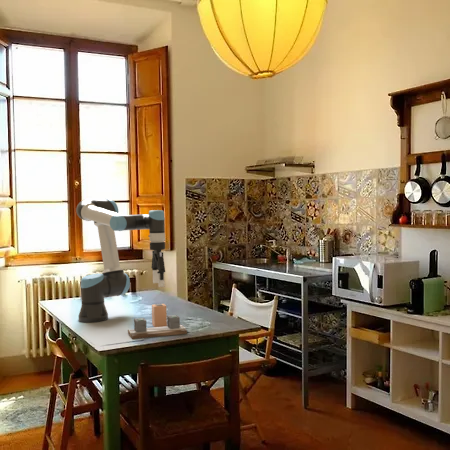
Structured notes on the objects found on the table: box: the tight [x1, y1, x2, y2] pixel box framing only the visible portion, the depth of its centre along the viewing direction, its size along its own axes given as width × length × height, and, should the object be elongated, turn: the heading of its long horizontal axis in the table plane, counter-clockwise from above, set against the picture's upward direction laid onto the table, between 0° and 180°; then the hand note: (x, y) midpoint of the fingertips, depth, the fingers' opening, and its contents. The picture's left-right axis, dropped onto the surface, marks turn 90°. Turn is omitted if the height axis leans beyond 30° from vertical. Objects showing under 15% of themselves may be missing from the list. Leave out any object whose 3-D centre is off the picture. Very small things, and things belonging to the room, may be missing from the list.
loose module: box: [151, 303, 168, 327], centre depth 261 cm, size 6×6×10 cm
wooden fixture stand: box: [127, 314, 188, 340], centre depth 244 cm, size 12×25×7 cm, turn 109°
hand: (158, 284), depth 260 cm, fingers open, 13 cm apart
